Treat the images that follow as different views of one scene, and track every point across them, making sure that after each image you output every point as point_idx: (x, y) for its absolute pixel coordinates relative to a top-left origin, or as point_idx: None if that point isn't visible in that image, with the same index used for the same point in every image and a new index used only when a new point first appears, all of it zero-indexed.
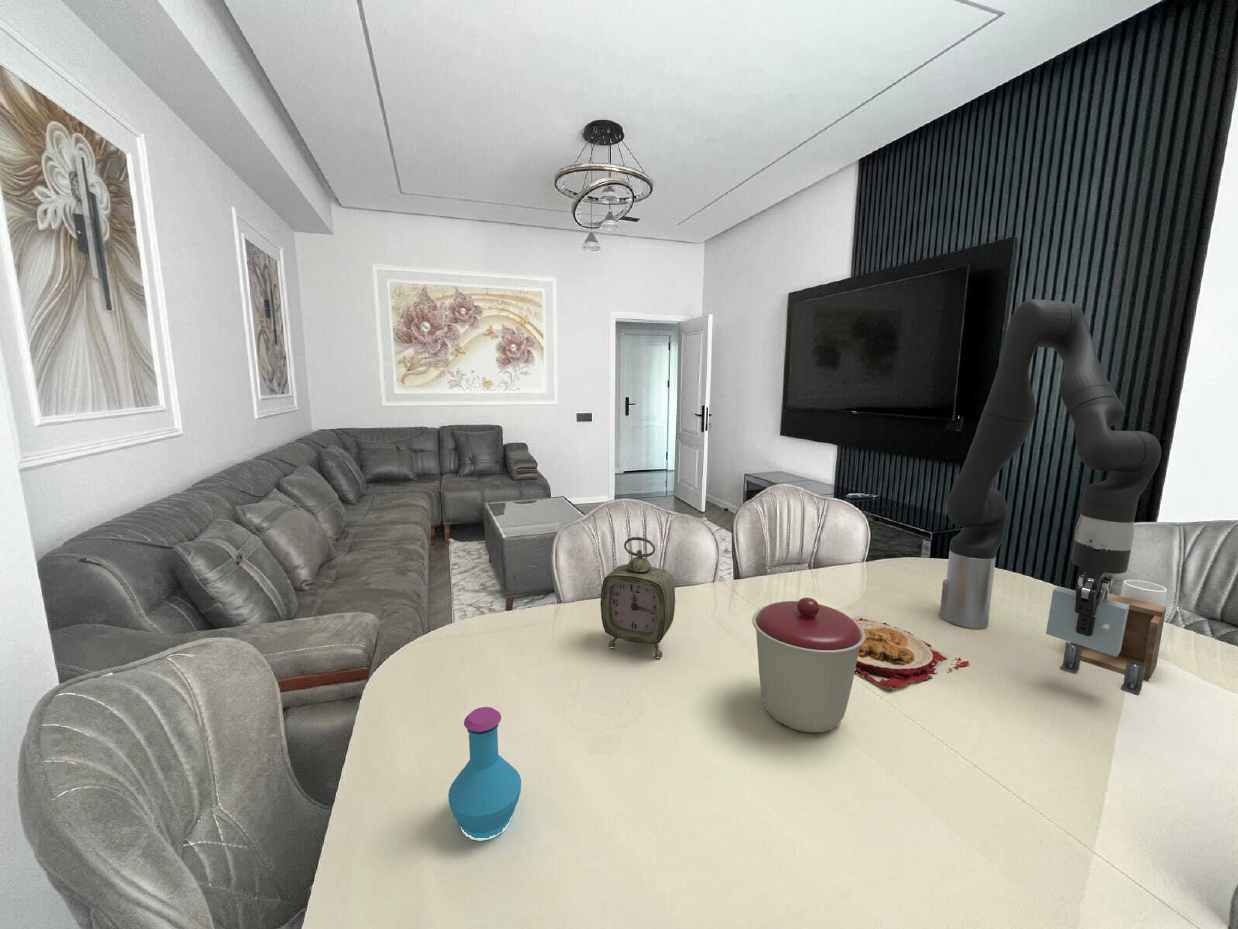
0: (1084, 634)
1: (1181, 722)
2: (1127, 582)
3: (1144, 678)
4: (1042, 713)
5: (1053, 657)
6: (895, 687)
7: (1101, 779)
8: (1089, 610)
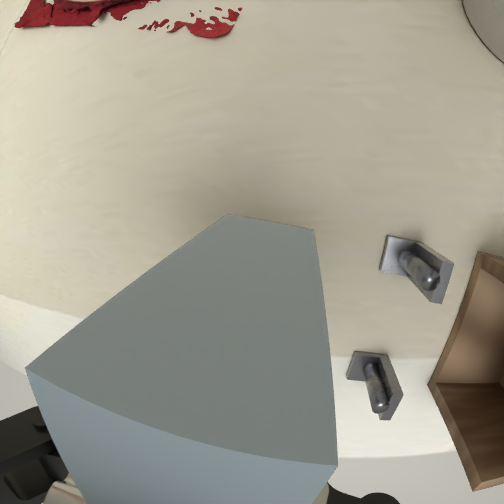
0: None
1: None
2: None
3: (431, 382)
4: (101, 218)
5: (452, 218)
6: (24, 26)
7: (17, 294)
8: (44, 469)
